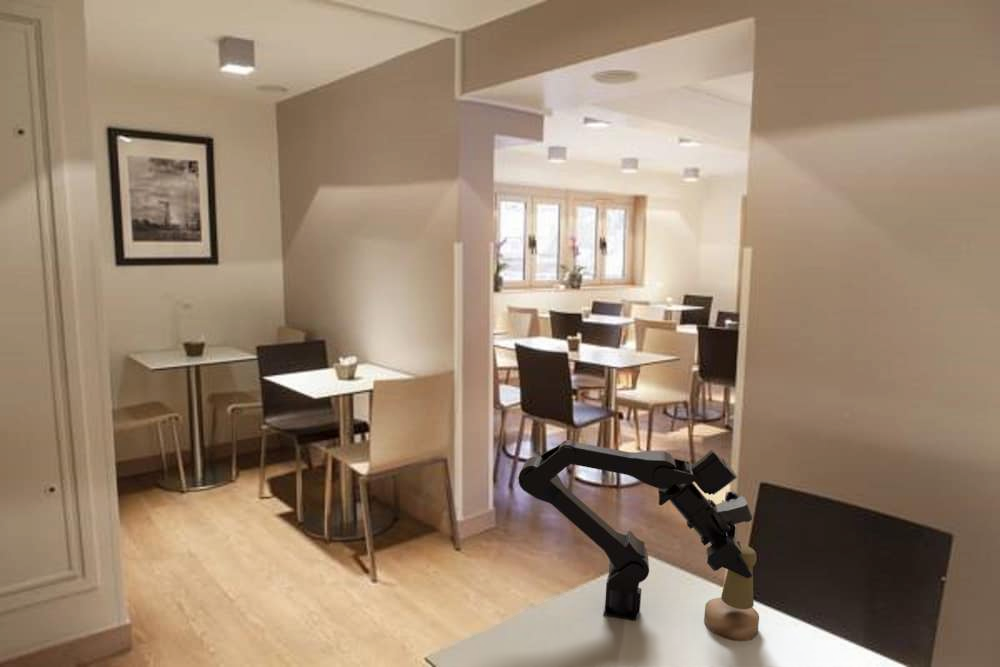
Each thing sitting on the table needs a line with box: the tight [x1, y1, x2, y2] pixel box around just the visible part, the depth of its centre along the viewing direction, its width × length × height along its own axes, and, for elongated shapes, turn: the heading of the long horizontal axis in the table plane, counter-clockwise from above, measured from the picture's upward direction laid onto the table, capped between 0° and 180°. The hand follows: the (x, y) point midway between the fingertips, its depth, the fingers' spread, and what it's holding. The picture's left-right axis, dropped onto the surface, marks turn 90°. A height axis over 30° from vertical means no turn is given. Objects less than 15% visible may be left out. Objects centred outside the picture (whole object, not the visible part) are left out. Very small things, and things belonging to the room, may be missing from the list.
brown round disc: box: [703, 597, 760, 642], centre depth 129 cm, size 10×10×3 cm
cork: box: [720, 543, 758, 609], centre depth 127 cm, size 6×6×11 cm
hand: (748, 570), depth 127 cm, fingers closed on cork, 5 cm apart
